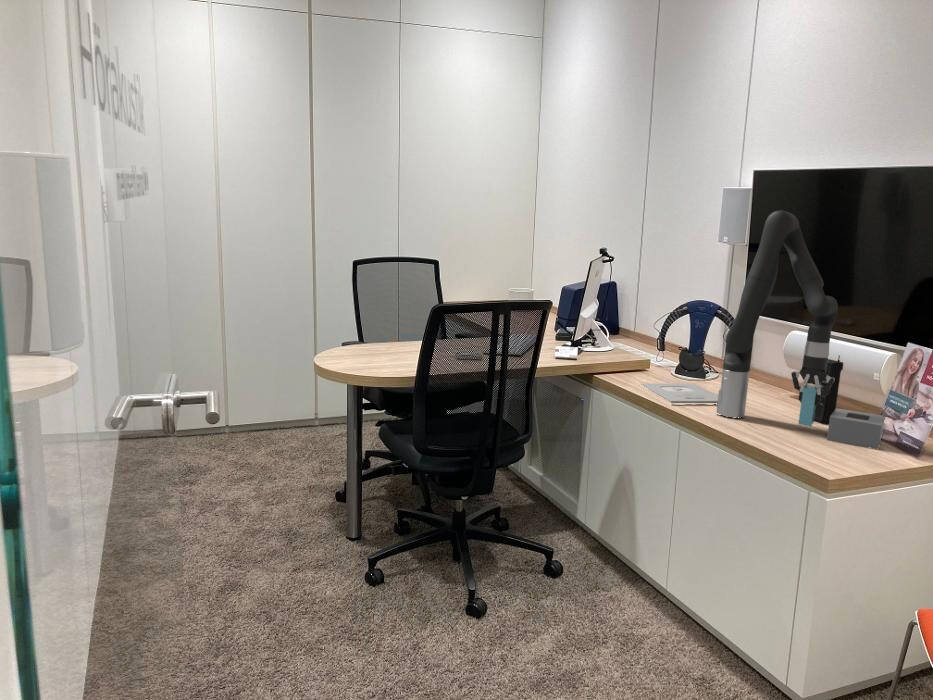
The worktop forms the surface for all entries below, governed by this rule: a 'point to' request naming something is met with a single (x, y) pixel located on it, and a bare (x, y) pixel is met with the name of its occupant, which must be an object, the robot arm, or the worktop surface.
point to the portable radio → (829, 393)
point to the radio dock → (855, 428)
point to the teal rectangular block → (808, 406)
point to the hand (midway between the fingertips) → (808, 403)
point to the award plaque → (682, 392)
